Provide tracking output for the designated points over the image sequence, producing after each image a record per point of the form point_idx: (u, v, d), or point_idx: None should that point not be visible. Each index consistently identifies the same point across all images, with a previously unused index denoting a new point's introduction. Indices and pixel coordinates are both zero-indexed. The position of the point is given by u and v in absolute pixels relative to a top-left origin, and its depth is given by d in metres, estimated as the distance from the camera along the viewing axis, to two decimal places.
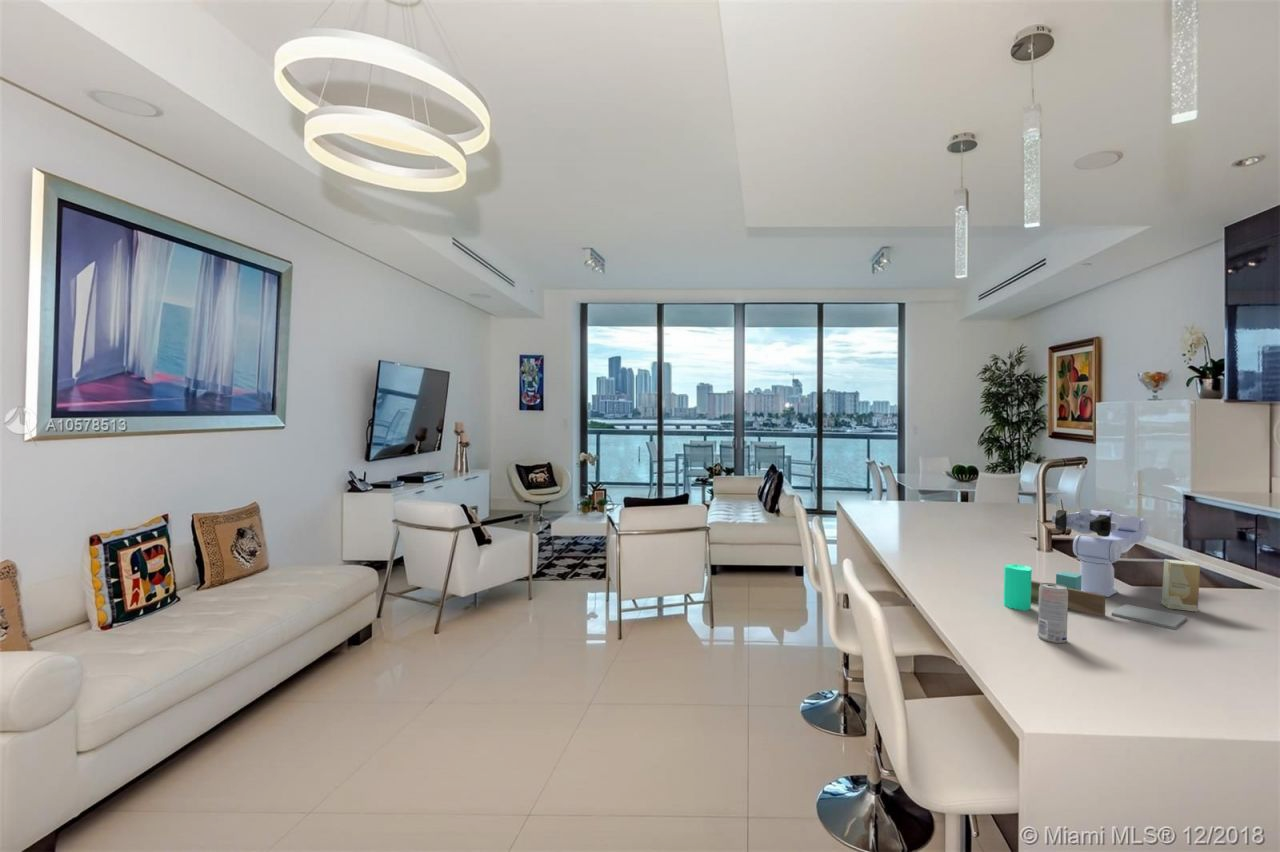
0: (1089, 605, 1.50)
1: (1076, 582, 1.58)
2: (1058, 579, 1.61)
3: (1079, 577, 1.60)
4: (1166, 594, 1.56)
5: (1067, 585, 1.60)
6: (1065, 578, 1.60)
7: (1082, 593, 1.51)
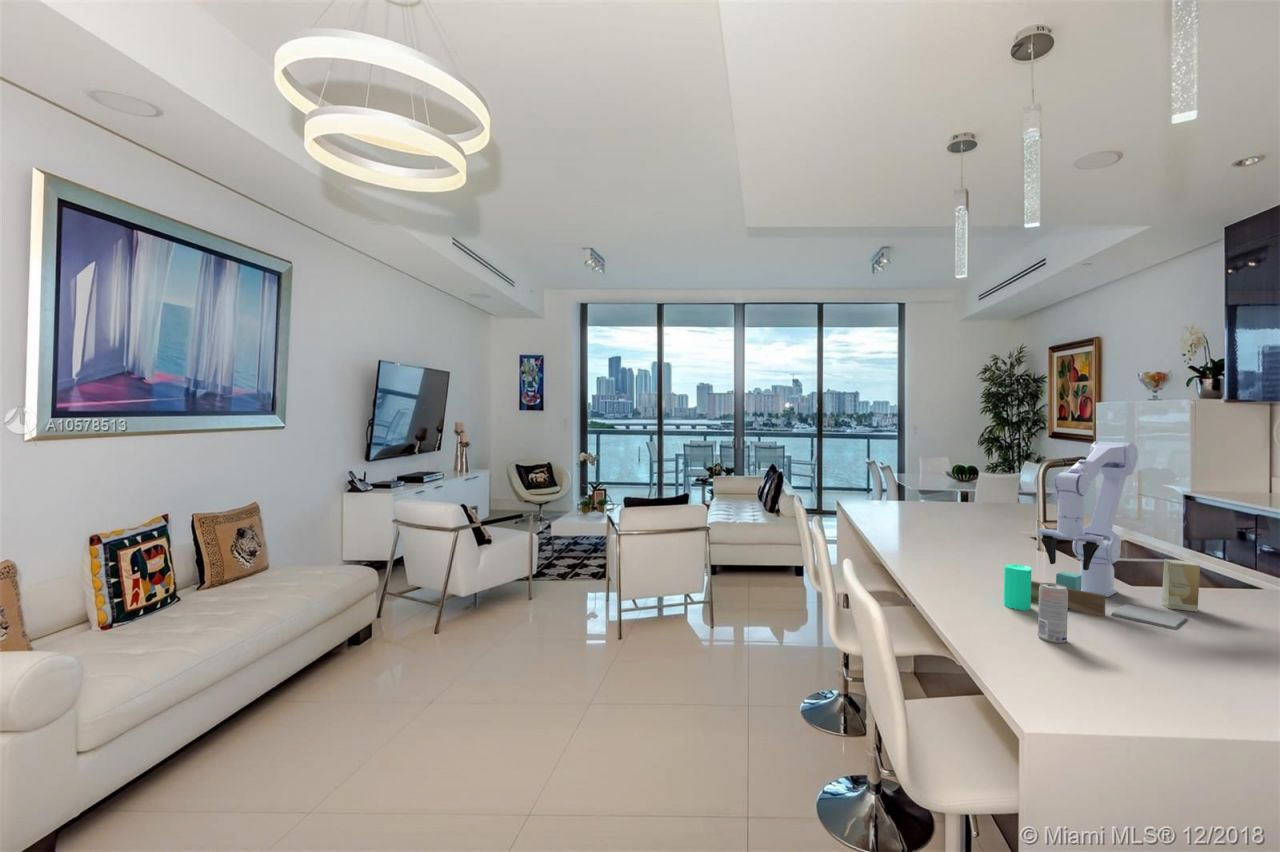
0: (1089, 605, 1.50)
1: (1075, 582, 1.58)
2: (1058, 579, 1.61)
3: (1079, 577, 1.60)
4: (1166, 594, 1.56)
5: (1067, 585, 1.60)
6: (1065, 578, 1.60)
7: (1082, 593, 1.51)
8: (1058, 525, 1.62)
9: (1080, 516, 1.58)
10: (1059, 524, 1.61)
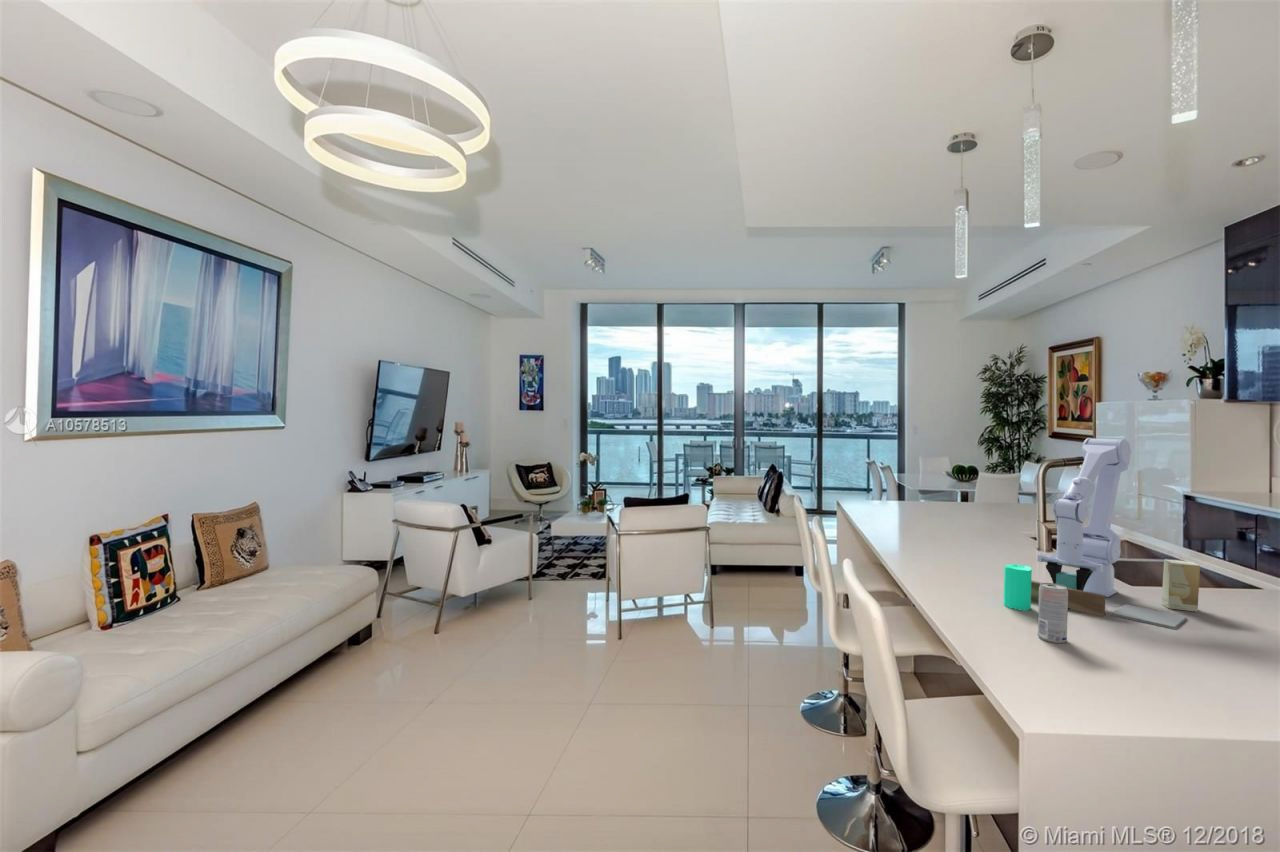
0: (1089, 605, 1.50)
1: (1076, 582, 1.58)
2: (1058, 579, 1.61)
3: None
4: (1166, 594, 1.56)
5: (1067, 585, 1.60)
6: (1065, 578, 1.60)
7: (1082, 593, 1.51)
8: (1057, 551, 1.62)
9: (1079, 543, 1.58)
10: (1059, 550, 1.61)
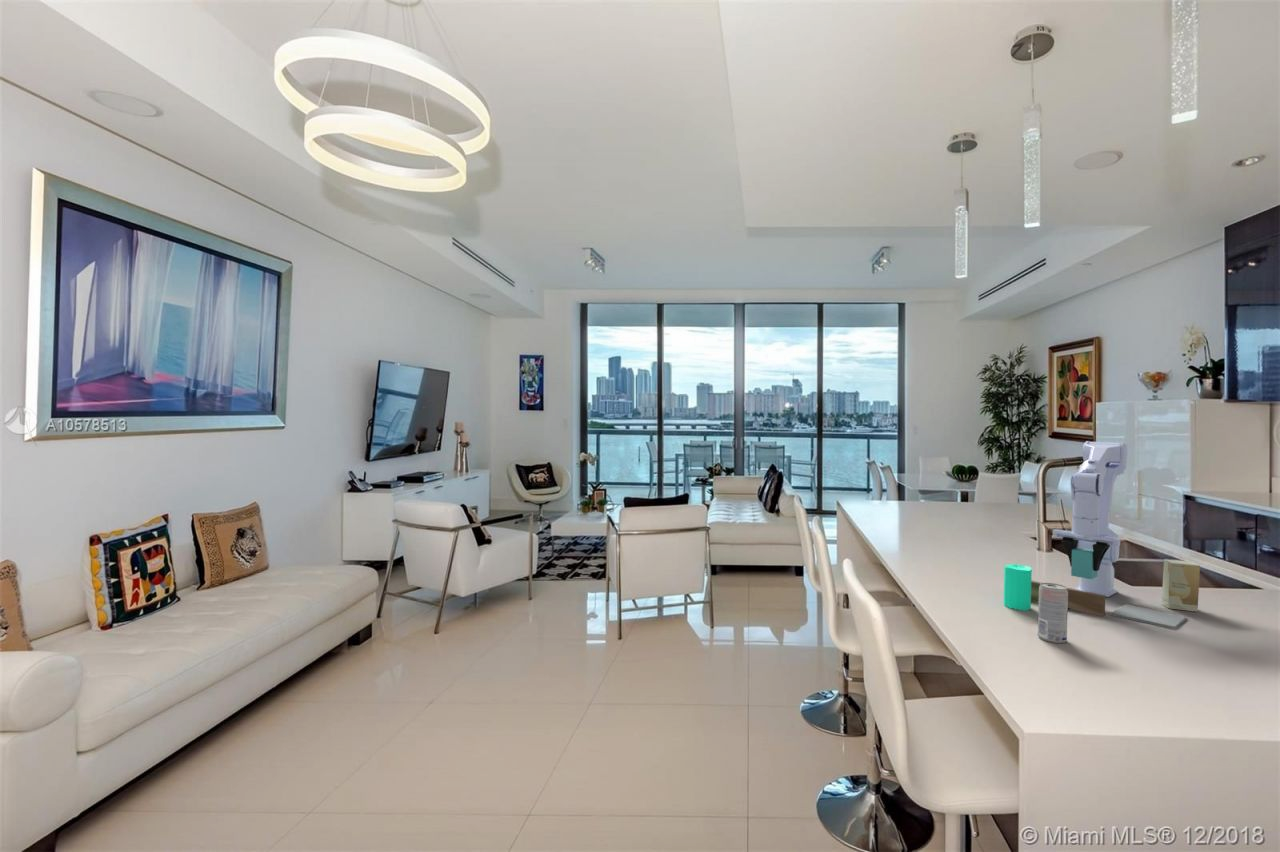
0: (1089, 605, 1.50)
1: (1092, 558, 1.55)
2: (1074, 555, 1.58)
3: None
4: (1166, 594, 1.56)
5: (1083, 561, 1.57)
6: (1081, 554, 1.57)
7: (1082, 593, 1.51)
8: (1073, 526, 1.59)
9: (1098, 517, 1.56)
10: (1075, 525, 1.58)
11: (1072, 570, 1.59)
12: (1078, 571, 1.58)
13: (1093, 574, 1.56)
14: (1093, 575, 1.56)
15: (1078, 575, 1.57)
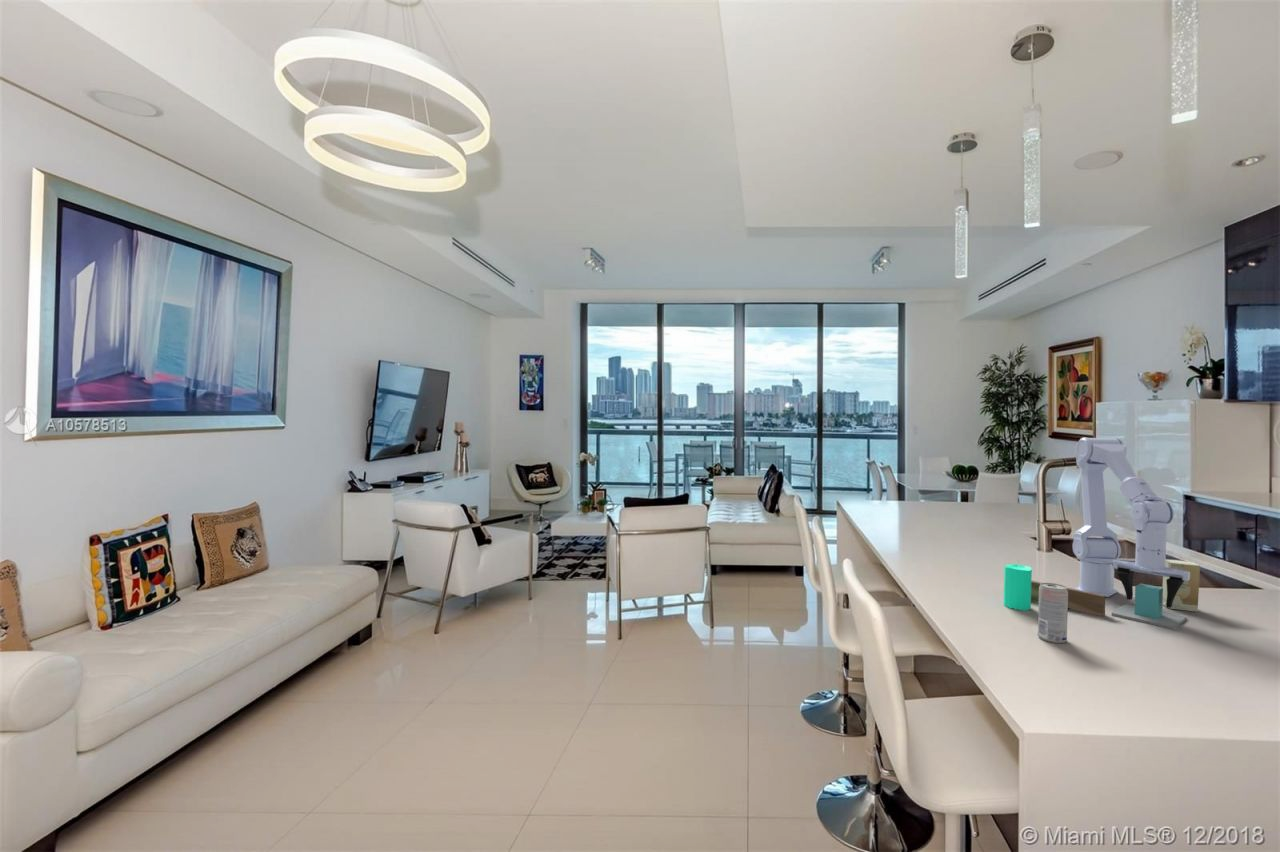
0: (1089, 605, 1.50)
1: (1158, 596, 1.45)
2: (1137, 592, 1.48)
3: (1161, 590, 1.46)
4: (1166, 594, 1.56)
5: (1148, 599, 1.46)
6: (1145, 591, 1.46)
7: (1082, 593, 1.51)
8: (1137, 557, 1.48)
9: None
10: (1139, 556, 1.48)
11: (1135, 609, 1.48)
12: (1142, 610, 1.47)
13: (1159, 613, 1.46)
14: (1159, 614, 1.46)
15: (1142, 614, 1.47)
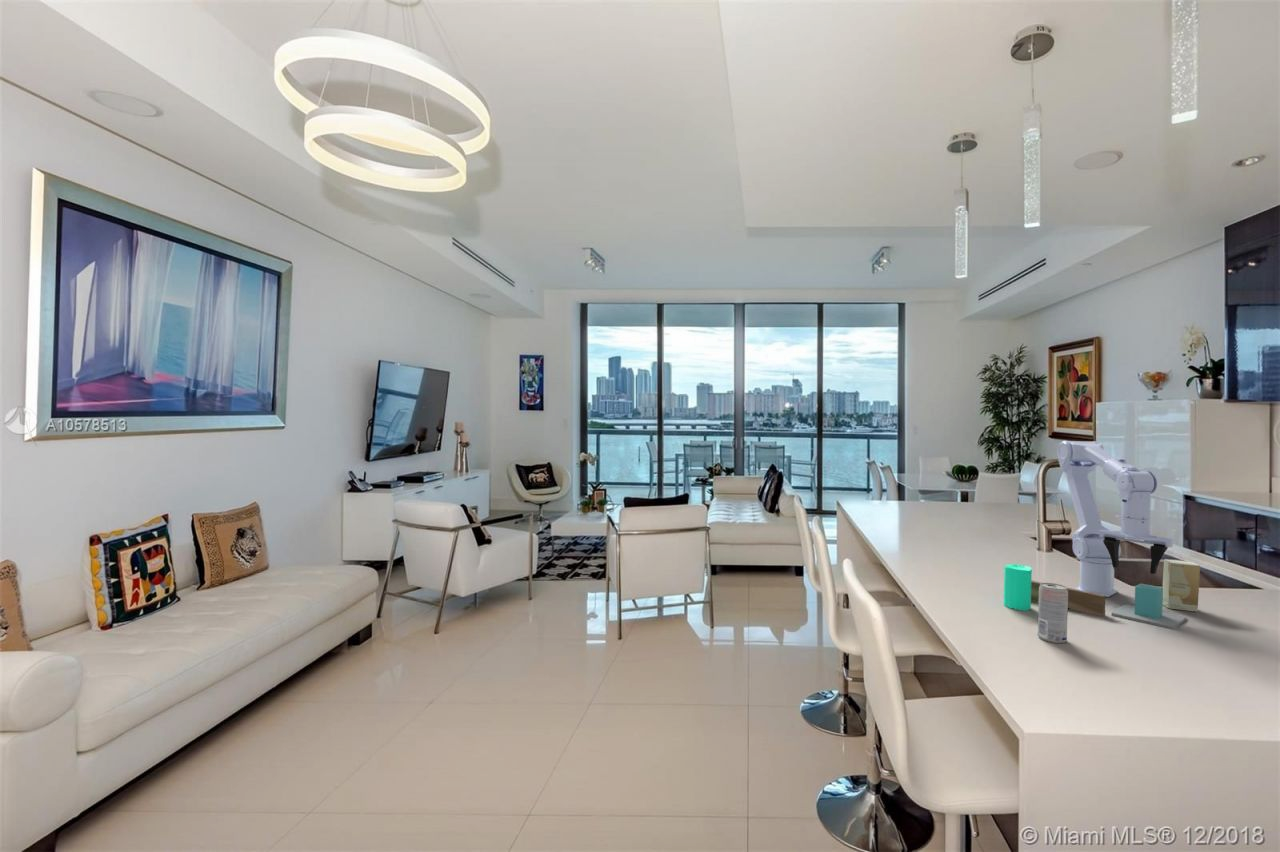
0: (1089, 605, 1.50)
1: (1158, 596, 1.45)
2: (1137, 592, 1.48)
3: (1161, 590, 1.46)
4: (1166, 594, 1.56)
5: (1148, 599, 1.46)
6: (1145, 591, 1.46)
7: (1082, 593, 1.51)
8: (1122, 526, 1.54)
9: None
10: (1124, 525, 1.53)
11: (1135, 609, 1.48)
12: (1142, 610, 1.47)
13: (1159, 613, 1.46)
14: (1159, 614, 1.46)
15: (1142, 614, 1.47)
